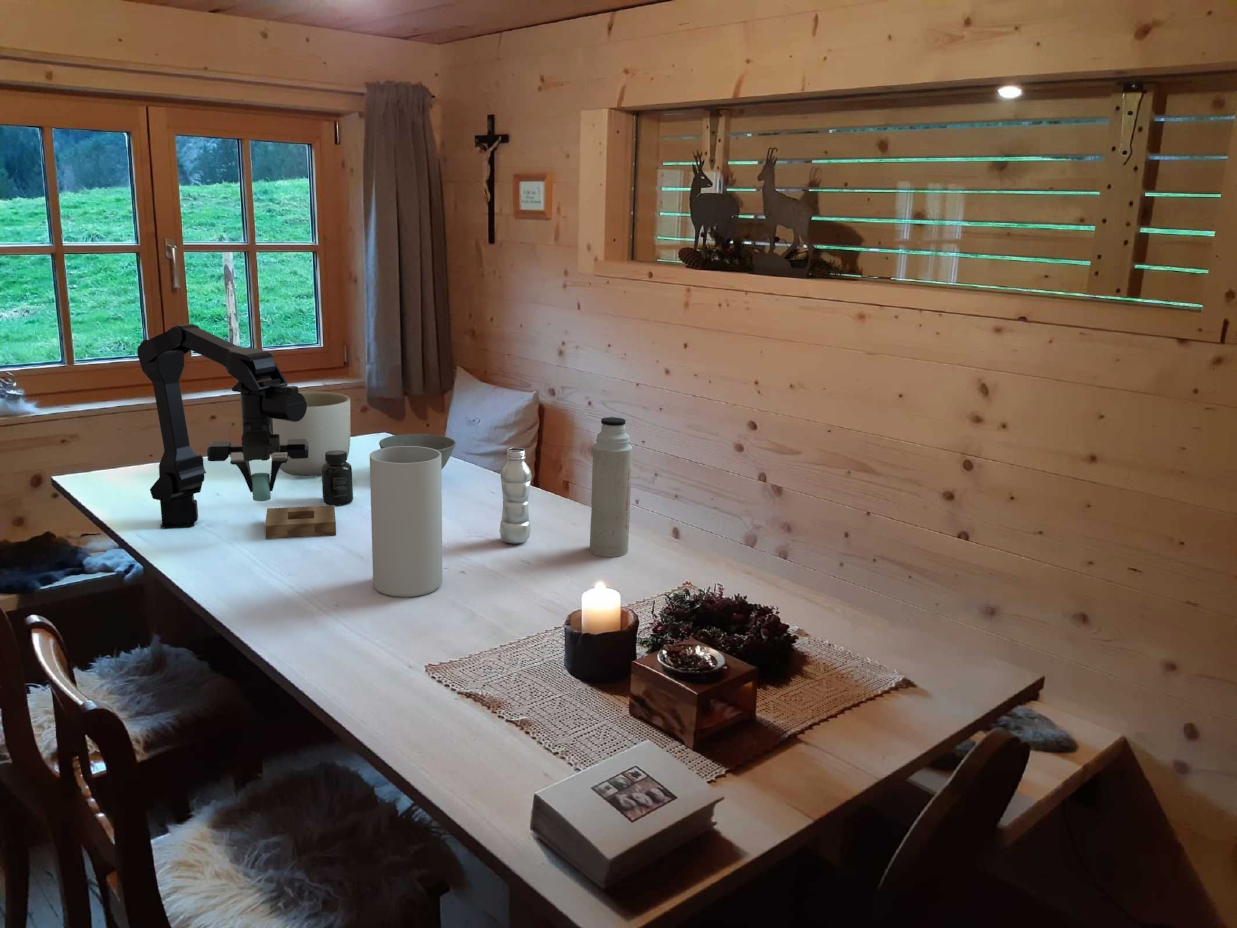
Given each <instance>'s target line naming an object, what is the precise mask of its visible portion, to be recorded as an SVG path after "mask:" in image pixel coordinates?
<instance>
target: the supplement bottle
mask: <svg viewBox="0 0 1237 928" xmlns="http://www.w3.org/2000/svg"><path fill="white" fill-rule="evenodd" d="M325 461H326V463H325V464H324V465H323V466H322V468H321V472H322V475H321V486H322V487H321V488H322V490H321V491H322V502H323V503H324V504H325V505H334V507H335V506H336V507H337V506H339V507H340V506H346V505H349V504H351V503H352V502H353V500H354V491H353V490H354V489H353V470H352V469H353V468H352V465H351V464H350V463H349V462H347V461H348V457H347V452H346V451H342V450H333V451H328V452H326V453H325Z"/></svg>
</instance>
